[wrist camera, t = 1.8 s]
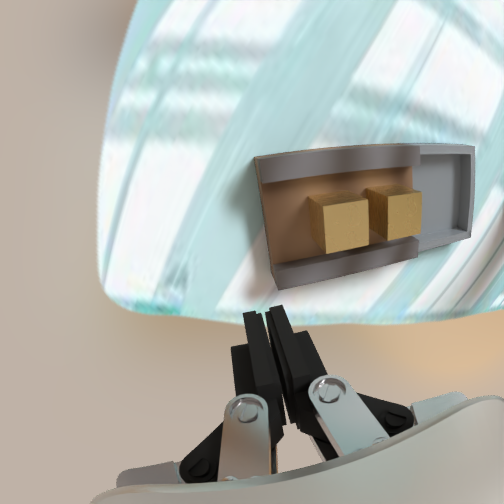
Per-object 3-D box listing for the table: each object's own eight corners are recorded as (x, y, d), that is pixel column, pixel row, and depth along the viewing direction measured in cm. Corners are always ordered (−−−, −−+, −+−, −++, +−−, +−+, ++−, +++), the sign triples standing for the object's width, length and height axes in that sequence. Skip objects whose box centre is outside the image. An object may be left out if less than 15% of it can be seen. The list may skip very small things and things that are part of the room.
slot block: (400, 143, 25) (419, 145, 22) (400, 245, 30) (417, 256, 27) (253, 157, 24) (259, 159, 21) (271, 273, 29) (278, 290, 26)
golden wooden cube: (347, 190, 24) (368, 199, 21) (349, 230, 26) (368, 245, 22) (307, 196, 24) (323, 206, 21) (311, 237, 26) (326, 253, 22)
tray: (461, 144, 25) (474, 146, 23) (458, 231, 30) (470, 237, 28) (400, 143, 25) (413, 145, 23) (400, 245, 30) (412, 253, 27)
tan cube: (398, 183, 25) (422, 192, 21) (398, 221, 26) (420, 233, 23) (365, 187, 24) (387, 196, 21) (366, 226, 26) (387, 240, 22)
